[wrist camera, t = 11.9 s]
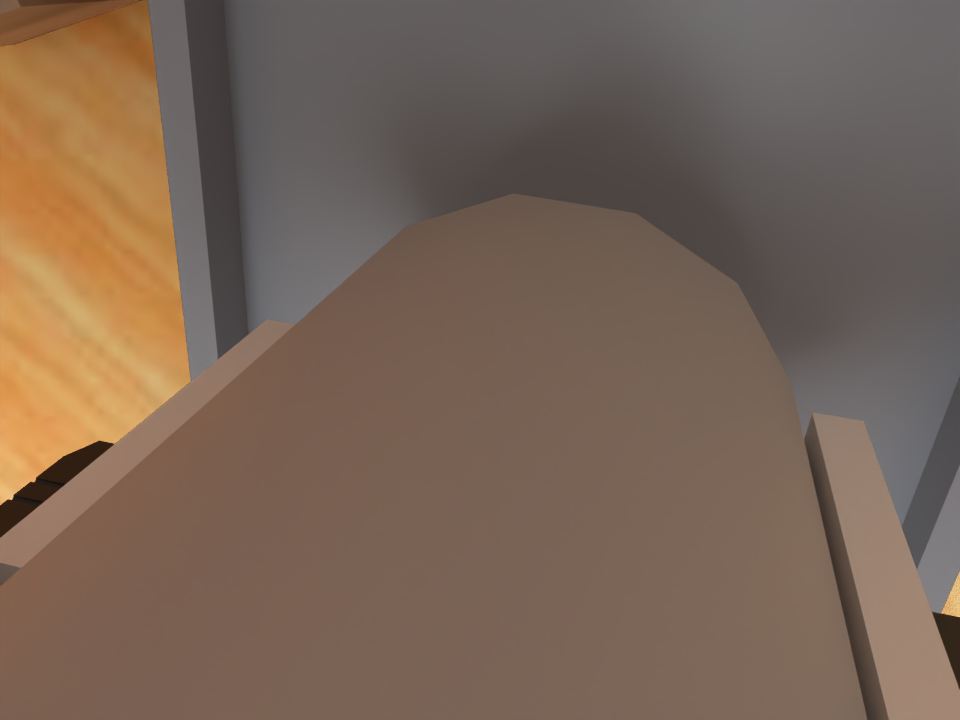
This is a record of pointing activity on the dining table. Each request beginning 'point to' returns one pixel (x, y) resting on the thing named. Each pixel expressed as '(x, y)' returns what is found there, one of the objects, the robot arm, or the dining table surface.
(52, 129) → the dining table surface
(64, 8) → the walnut block
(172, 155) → the tray
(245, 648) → the cup
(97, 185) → the dining table surface
